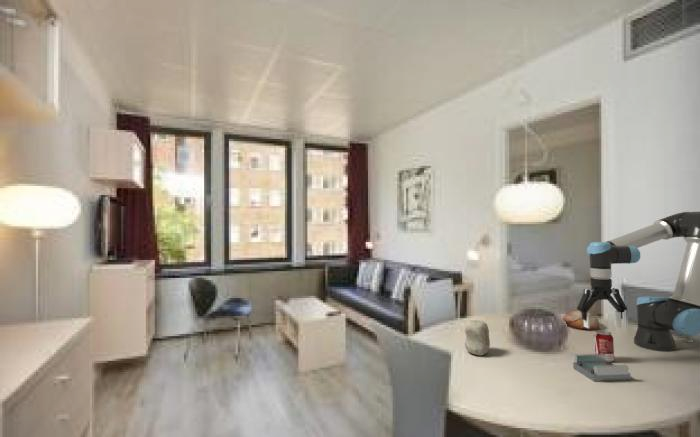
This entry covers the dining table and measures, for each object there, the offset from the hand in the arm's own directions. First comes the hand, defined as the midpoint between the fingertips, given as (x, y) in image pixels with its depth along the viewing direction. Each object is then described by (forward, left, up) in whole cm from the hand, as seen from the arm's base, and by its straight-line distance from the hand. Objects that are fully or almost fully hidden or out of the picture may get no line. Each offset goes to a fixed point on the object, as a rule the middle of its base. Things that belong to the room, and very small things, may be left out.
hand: (602, 327), depth 153 cm
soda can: (0, 0, -15) cm, 15 cm away
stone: (+50, -14, -15) cm, 54 cm away
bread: (-21, -47, -15) cm, 54 cm away
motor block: (+11, +13, -14) cm, 22 cm away
